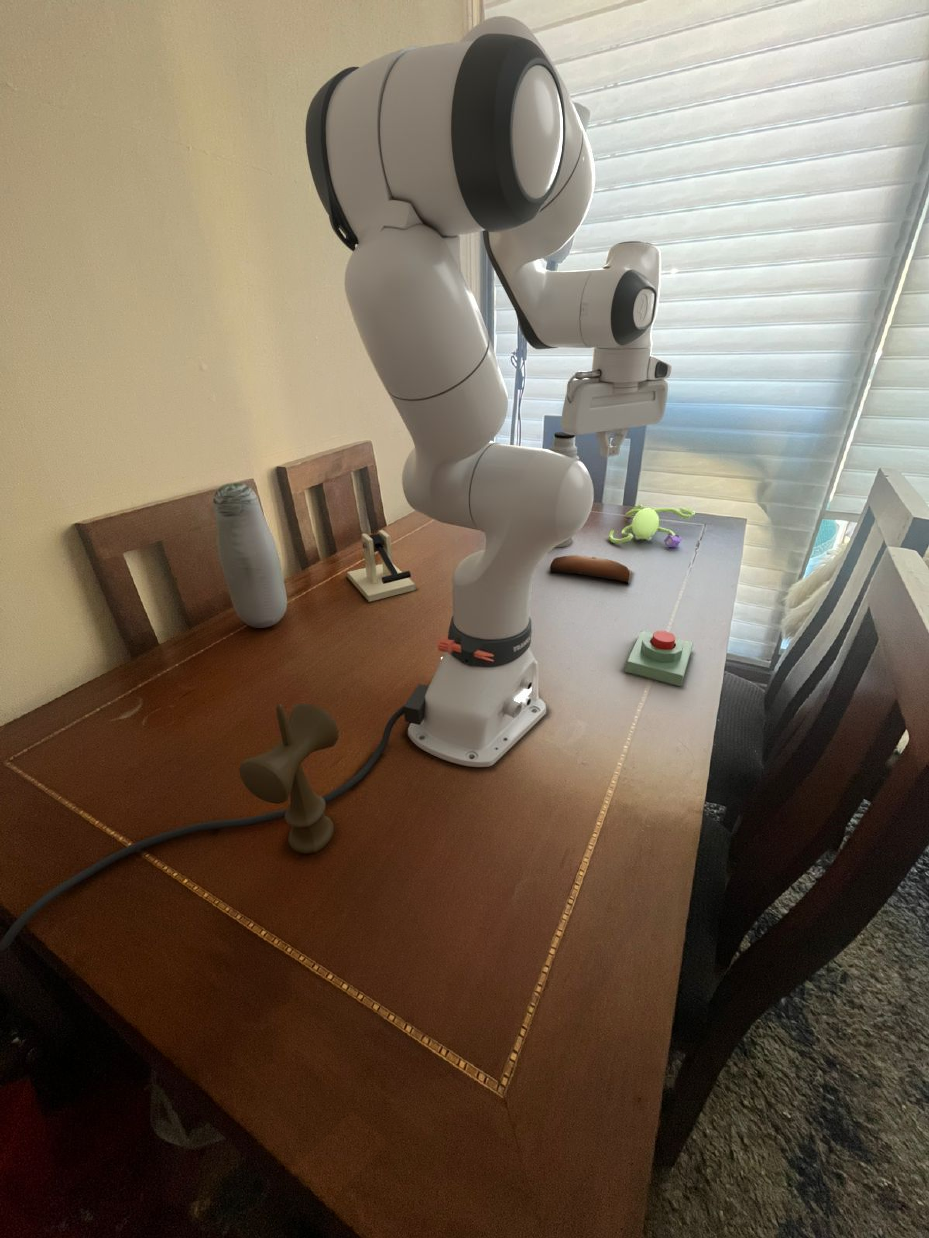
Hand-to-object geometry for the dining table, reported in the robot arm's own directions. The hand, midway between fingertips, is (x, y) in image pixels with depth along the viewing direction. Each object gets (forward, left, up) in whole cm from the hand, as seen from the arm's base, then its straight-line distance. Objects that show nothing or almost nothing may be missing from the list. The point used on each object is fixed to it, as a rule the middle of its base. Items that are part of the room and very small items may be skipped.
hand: (609, 456), depth 90 cm
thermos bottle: (+33, +19, -31) cm, 49 cm away
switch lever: (-11, +42, -24) cm, 50 cm away
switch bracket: (-9, +46, -31) cm, 56 cm away
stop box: (-12, -16, -31) cm, 37 cm away
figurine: (+51, -2, -31) cm, 60 cm away
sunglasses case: (+18, +5, -31) cm, 36 cm away
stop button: (-12, -16, -28) cm, 34 cm away
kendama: (-67, +13, -31) cm, 75 cm away
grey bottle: (-34, +56, -31) cm, 73 cm away
